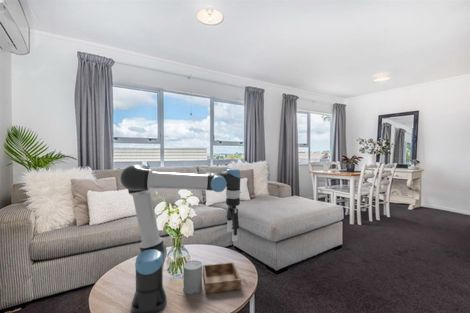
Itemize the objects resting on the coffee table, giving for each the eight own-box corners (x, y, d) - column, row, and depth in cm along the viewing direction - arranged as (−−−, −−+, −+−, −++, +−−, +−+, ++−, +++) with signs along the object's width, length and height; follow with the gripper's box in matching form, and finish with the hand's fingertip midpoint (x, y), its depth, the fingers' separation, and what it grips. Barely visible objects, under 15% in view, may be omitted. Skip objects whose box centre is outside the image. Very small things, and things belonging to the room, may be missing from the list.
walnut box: (205, 294, 116) (205, 283, 116) (202, 274, 134) (202, 265, 134) (240, 290, 120) (240, 279, 119) (233, 271, 138) (233, 262, 138)
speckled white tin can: (198, 295, 115) (198, 270, 115) (180, 292, 117) (180, 268, 117) (204, 284, 125) (204, 261, 124) (187, 282, 126) (187, 259, 126)
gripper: (245, 202, 116) (244, 244, 117) (234, 193, 140) (233, 228, 141) (230, 202, 114) (229, 245, 115) (222, 193, 139) (221, 228, 139)
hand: (232, 236), depth 128 cm, fingers open, 13 cm apart
